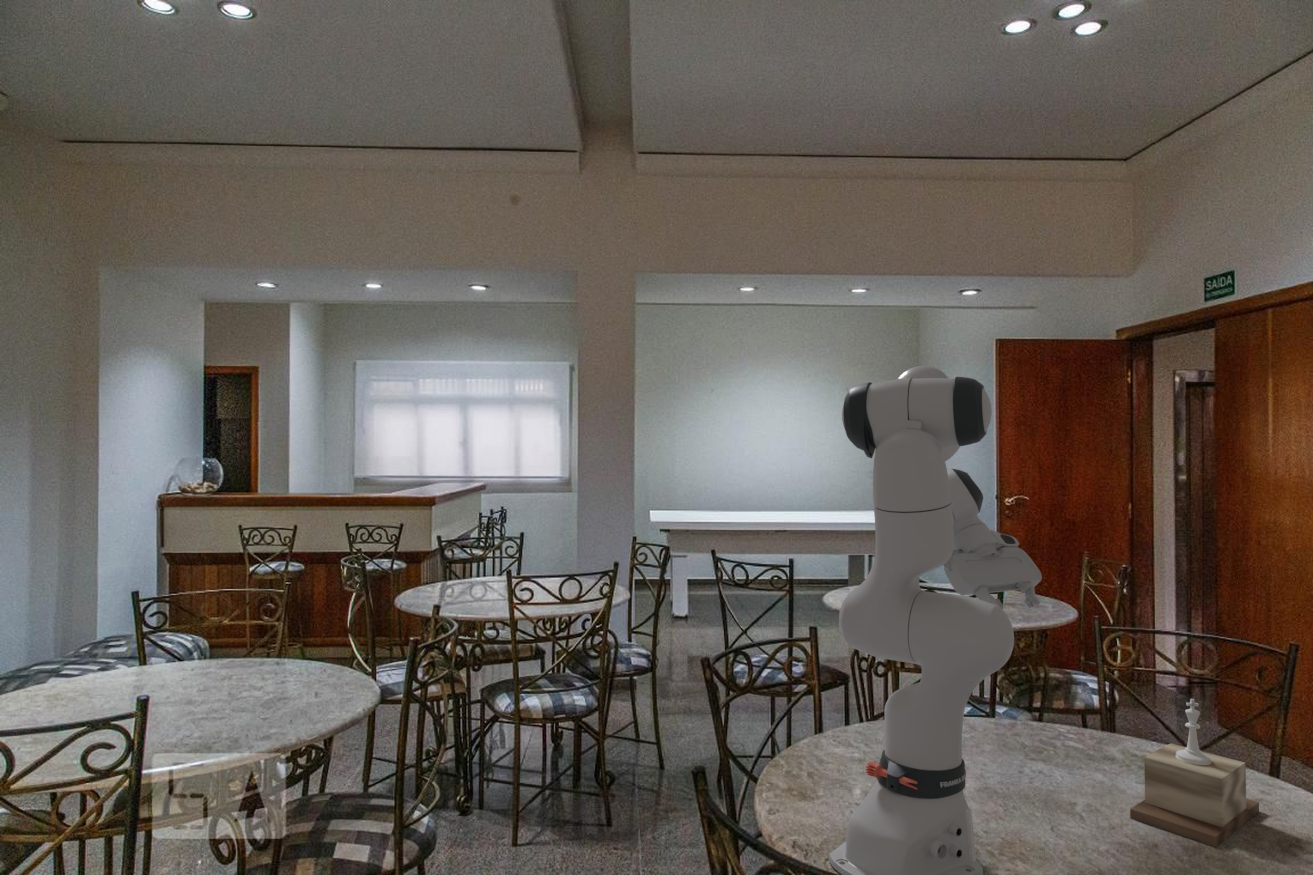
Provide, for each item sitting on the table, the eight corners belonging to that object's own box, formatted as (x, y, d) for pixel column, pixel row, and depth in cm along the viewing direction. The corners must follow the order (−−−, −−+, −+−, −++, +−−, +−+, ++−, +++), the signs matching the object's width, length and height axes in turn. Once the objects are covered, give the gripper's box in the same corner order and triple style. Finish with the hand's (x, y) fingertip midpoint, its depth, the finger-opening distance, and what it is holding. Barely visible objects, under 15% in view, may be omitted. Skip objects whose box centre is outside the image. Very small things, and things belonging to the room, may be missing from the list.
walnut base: (1215, 846, 120) (1214, 787, 120) (1130, 817, 129) (1129, 762, 129) (1259, 811, 132) (1258, 757, 132) (1178, 786, 141) (1177, 736, 141)
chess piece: (1217, 766, 128) (1216, 704, 128) (1184, 764, 129) (1183, 702, 129) (1201, 755, 133) (1200, 695, 133) (1169, 753, 134) (1169, 694, 134)
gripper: (944, 541, 149) (985, 601, 140) (1021, 536, 157) (1065, 593, 148) (927, 562, 153) (966, 622, 144) (1003, 556, 161) (1045, 613, 152)
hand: (1017, 607), depth 146 cm, fingers open, 8 cm apart
